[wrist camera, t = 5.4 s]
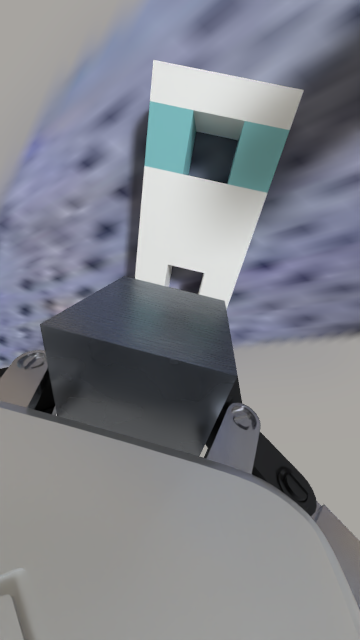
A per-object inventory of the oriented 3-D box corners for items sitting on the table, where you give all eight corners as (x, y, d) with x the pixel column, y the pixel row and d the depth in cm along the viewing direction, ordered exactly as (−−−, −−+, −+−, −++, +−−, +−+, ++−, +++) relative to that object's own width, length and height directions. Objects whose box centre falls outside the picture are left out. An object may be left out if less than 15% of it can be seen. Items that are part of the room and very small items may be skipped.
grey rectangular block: (221, 280, 15) (237, 375, 5) (199, 350, 18) (185, 484, 9) (147, 262, 15) (39, 324, 6) (139, 334, 18) (63, 448, 9)
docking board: (164, 92, 18) (153, 60, 15) (285, 117, 18) (303, 90, 14) (141, 297, 29) (132, 307, 25) (218, 316, 28) (219, 329, 25)
